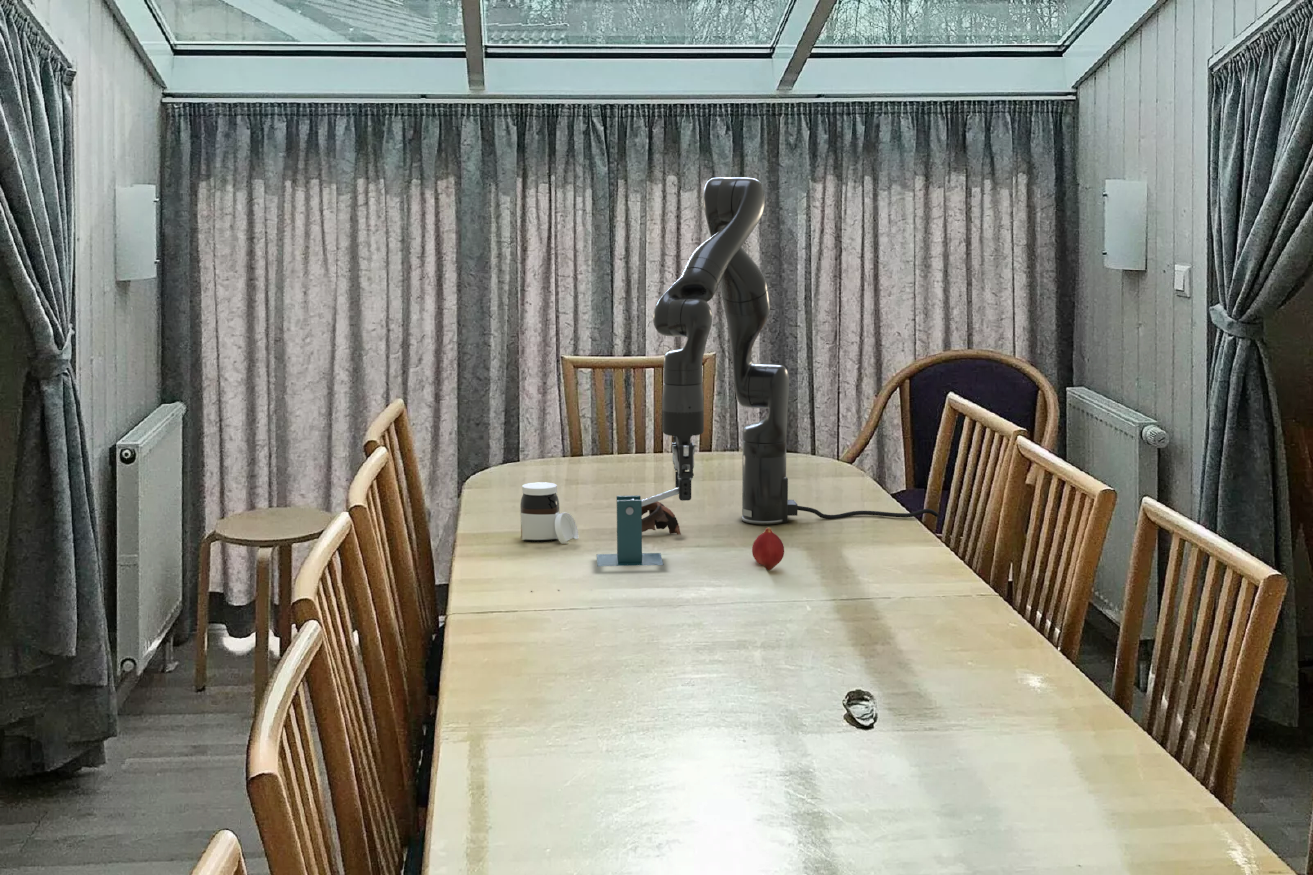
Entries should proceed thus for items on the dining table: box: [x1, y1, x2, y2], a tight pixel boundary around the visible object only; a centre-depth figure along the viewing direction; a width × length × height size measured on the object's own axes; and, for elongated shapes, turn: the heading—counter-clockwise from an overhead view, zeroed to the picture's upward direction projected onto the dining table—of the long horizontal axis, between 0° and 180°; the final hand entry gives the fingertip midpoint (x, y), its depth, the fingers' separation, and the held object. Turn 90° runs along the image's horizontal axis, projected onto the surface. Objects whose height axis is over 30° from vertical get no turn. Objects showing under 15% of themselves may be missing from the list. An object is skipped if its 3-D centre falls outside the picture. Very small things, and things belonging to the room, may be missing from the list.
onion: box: [751, 527, 785, 571], centre depth 251 cm, size 6×6×8 cm
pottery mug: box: [642, 501, 682, 536], centre depth 279 cm, size 12×10×8 cm
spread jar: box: [519, 481, 579, 545], centre depth 272 cm, size 12×11×12 cm
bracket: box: [596, 494, 664, 567], centre depth 254 cm, size 12×9×13 cm
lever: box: [630, 487, 679, 506], centre depth 253 cm, size 13×5×2 cm, turn 91°
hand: (683, 495), depth 254 cm, fingers open, 8 cm apart
